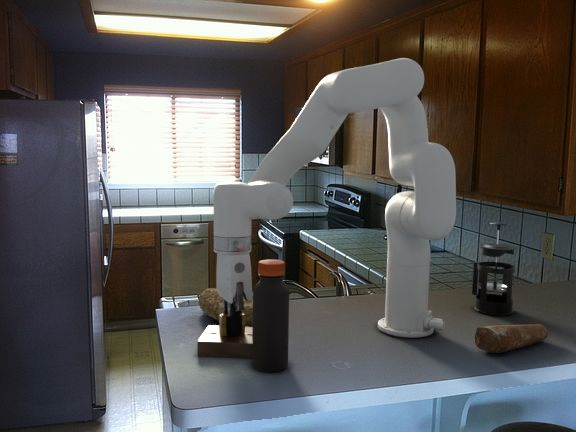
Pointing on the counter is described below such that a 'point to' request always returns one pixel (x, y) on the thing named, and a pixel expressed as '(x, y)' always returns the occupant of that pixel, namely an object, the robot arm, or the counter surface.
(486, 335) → the bread
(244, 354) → the lock plate
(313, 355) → the counter surface
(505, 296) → the french press
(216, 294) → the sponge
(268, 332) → the bottle
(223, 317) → the thumbturn
